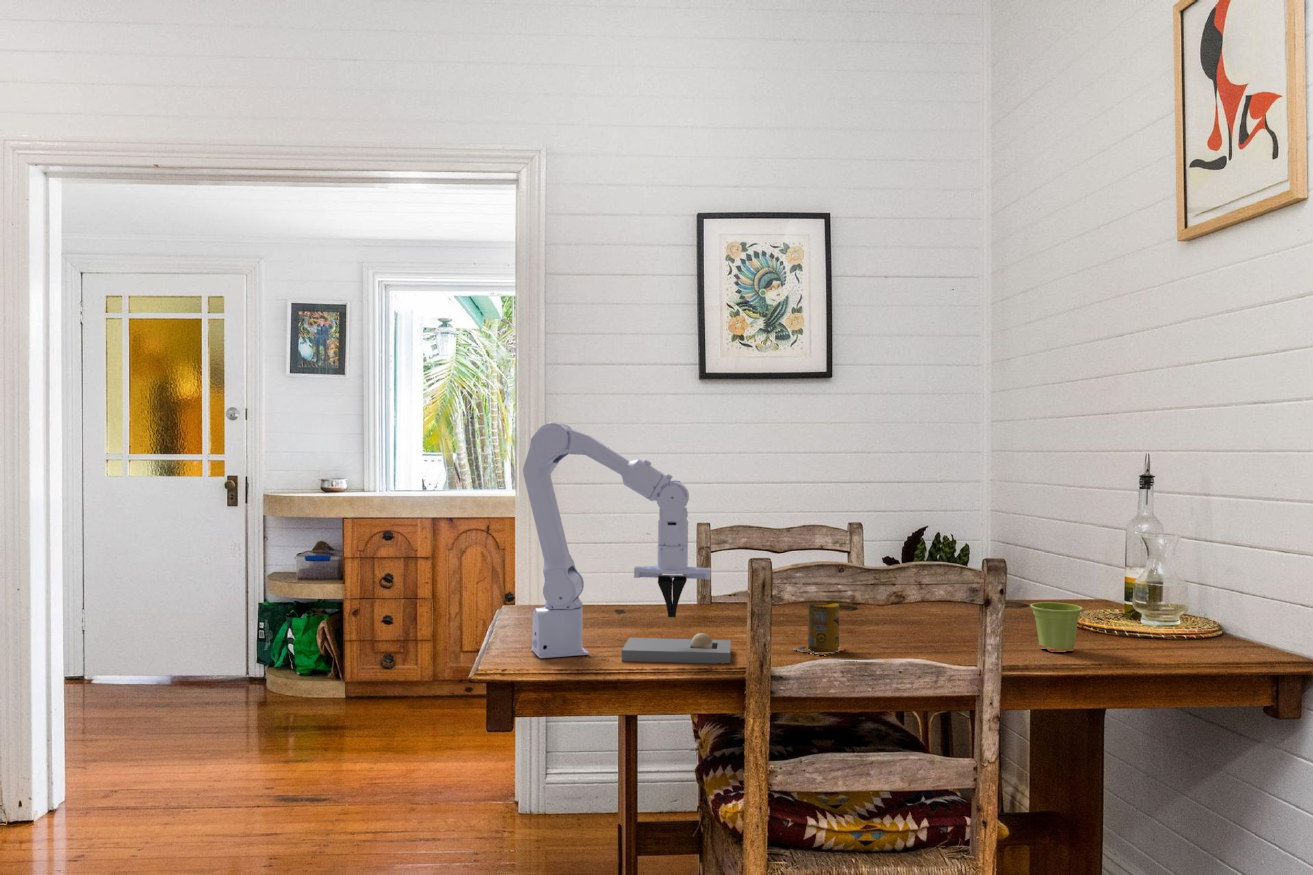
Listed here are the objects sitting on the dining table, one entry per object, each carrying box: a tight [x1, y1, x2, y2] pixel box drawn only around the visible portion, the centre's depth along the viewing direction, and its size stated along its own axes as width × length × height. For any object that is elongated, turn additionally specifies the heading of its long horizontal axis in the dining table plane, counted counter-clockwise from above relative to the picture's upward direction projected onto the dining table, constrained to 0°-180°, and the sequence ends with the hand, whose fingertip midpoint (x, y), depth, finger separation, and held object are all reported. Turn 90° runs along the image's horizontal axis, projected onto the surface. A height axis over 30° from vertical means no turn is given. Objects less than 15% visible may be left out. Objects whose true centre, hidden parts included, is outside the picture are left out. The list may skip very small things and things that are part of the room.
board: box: [621, 637, 732, 665], centre depth 171 cm, size 20×11×2 cm, turn 85°
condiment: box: [792, 603, 840, 657], centre depth 176 cm, size 7×8×12 cm
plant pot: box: [1029, 601, 1083, 649], centre depth 177 cm, size 9×9×9 cm
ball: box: [691, 632, 713, 649], centre depth 170 cm, size 4×4×4 cm
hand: (672, 616), depth 171 cm, fingers closed
